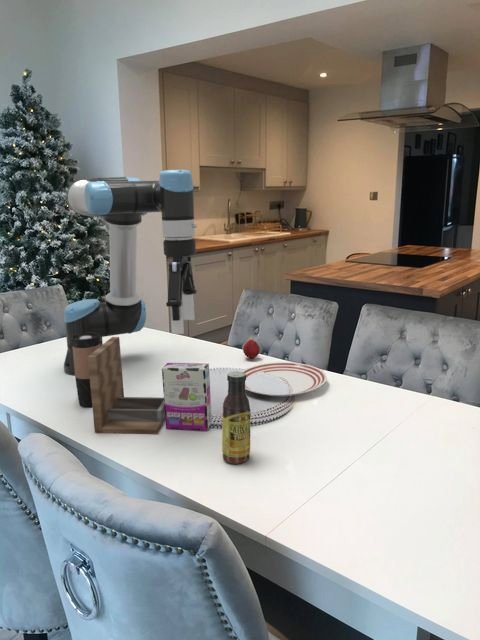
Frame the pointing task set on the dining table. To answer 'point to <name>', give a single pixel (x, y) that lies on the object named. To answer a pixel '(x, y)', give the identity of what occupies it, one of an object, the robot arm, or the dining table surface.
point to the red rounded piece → (251, 349)
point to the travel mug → (84, 365)
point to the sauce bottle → (236, 420)
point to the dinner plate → (291, 376)
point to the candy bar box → (187, 396)
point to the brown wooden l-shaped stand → (119, 396)
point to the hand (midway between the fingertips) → (183, 326)
